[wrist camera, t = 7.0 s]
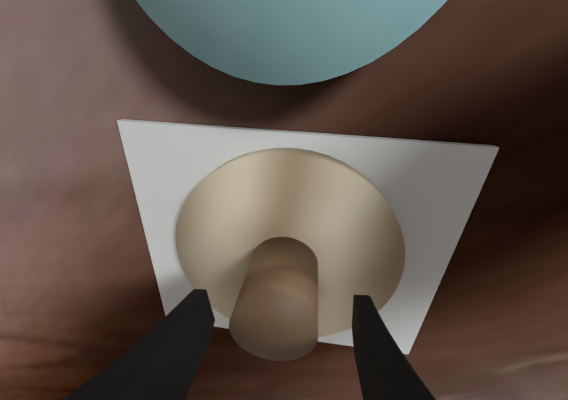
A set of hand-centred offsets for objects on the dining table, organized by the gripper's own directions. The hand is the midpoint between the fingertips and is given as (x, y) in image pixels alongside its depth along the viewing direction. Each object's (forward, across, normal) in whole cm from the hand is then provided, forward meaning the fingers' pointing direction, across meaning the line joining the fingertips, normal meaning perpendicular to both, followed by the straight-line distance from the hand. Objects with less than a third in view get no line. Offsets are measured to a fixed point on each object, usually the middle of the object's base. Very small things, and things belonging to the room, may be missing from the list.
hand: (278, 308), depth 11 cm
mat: (+4, 0, 0) cm, 4 cm away
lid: (+3, 0, 0) cm, 4 cm away
